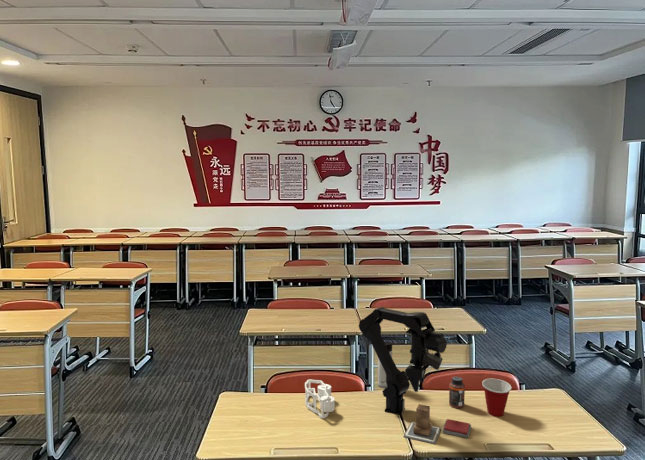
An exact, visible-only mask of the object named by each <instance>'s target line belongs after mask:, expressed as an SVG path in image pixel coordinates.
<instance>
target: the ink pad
mask: <svg viewBox="0 0 645 460" xmlns="http://www.w3.org/2000/svg"><path fill="white" fill-rule="evenodd" d="M471 430H472V424H471V423H468V422H466V421H465V422H464V421H459V420H454V419H449V418H447V419H446V420H445V422H444V424H443V427H442V429H441V431H442V434H446V435H449V436H451V435H452V436H456V437H460V438H464V439H469V437H470V434H471Z"/></svg>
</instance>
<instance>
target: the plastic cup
mask: <svg viewBox="0 0 645 460" xmlns="http://www.w3.org/2000/svg"><path fill="white" fill-rule="evenodd" d="M481 384H482V388H483V392H484V398H485V402H486V404H485V405H486V409H487V413H488V415H489V416H492V417H497V418H499V417H502V416H504V414H505V409H506V407H507V402H508V398H509V395H510V391H511V390H512V389H513V388H512V386H511V384H510V383H509V382H507V381H505V380H502V379H498V378H492V377H490V378H485V379H484V380H482V382H481Z"/></svg>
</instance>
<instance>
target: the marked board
mask: <svg viewBox="0 0 645 460" xmlns="http://www.w3.org/2000/svg"><path fill="white" fill-rule="evenodd" d="M415 423H416V421H410V423H409V425H408V426H407V429H406V431H405V433H404V435H403V438H406V439H411V440H415V441H420V442H424V443H428V444H433V445H436V443H437V440H438V437H439V436H440V433H441V431H442V427H439V426H434V425H432V430H431V432H430V434H429V437H427V436H423V435H418V434H414V433H413V427H414V425H415Z"/></svg>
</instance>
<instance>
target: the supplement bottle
mask: <svg viewBox="0 0 645 460" xmlns="http://www.w3.org/2000/svg"><path fill="white" fill-rule="evenodd" d="M448 392H449V394H448V395H449V397H448V401H449V402H448V403H449V406H450V407H452V408H454V407H455V408H456V409H461V408H463V407H465V393H466V391H465V384H464V382H463V378H462V377H460V376H453V377H452V379H451V382H450V383H449V391H448Z"/></svg>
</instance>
